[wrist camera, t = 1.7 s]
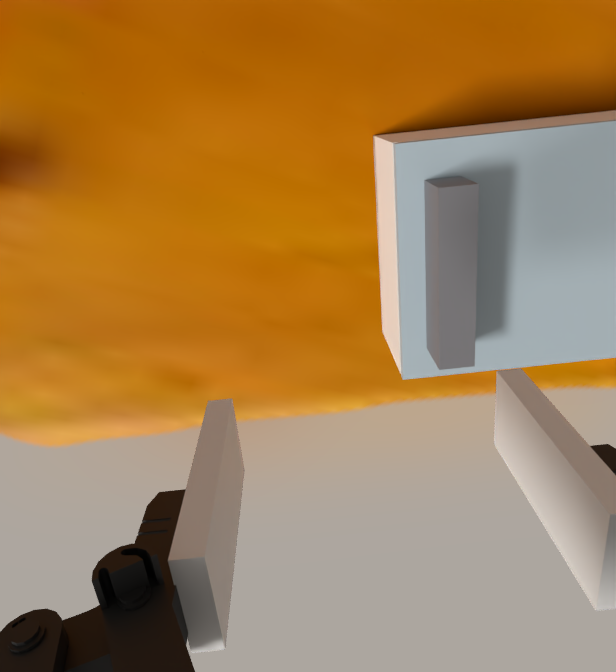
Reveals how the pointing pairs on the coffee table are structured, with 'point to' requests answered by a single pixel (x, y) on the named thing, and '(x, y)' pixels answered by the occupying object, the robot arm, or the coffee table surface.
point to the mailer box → (387, 200)
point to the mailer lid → (506, 249)
